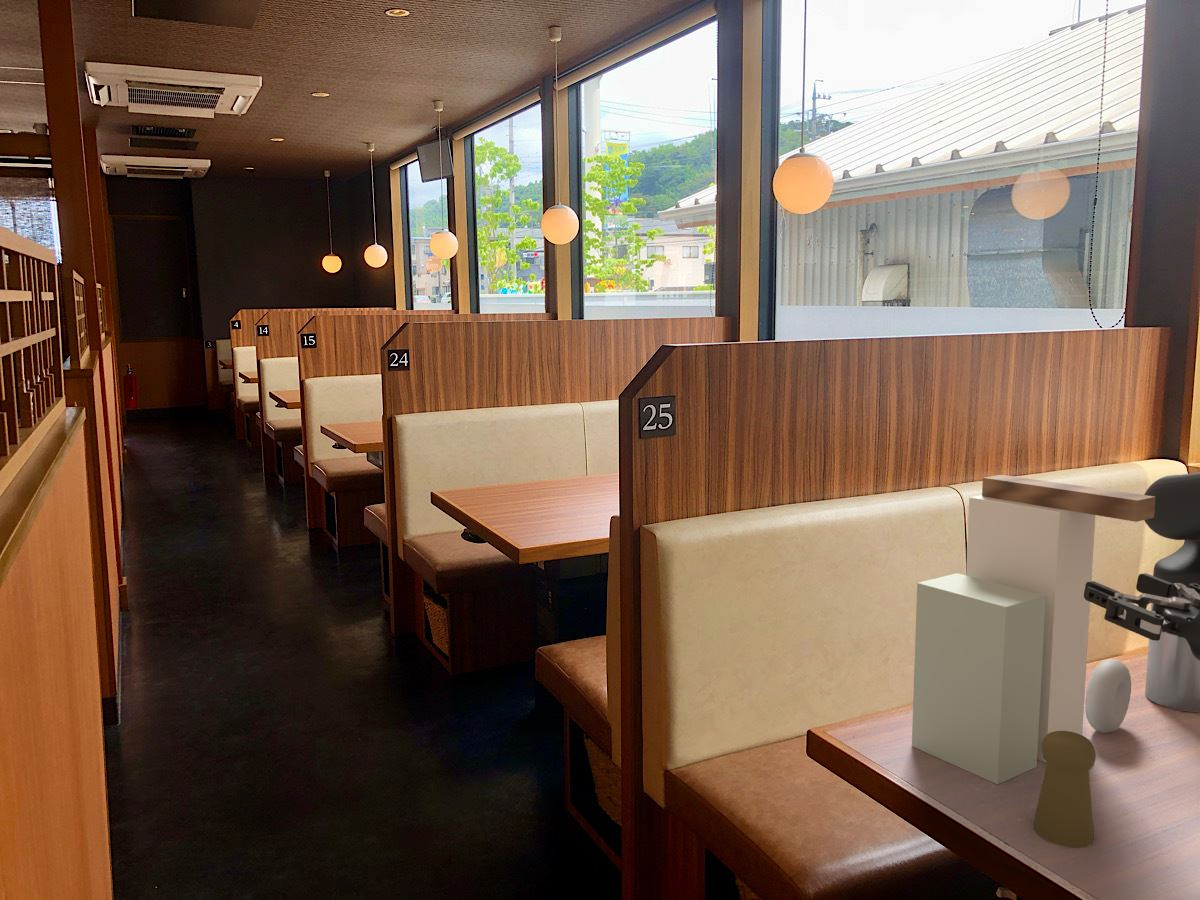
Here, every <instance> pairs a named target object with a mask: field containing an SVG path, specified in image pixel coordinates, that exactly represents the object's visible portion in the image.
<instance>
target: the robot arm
mask: <svg viewBox="0 0 1200 900" xmlns="http://www.w3.org/2000/svg"><path fill="white" fill-rule="evenodd" d="M1143 495H1148V496H1155V497H1156V498H1155V512H1154V518H1150V519H1146V520H1143V521H1144V522H1145V524H1146V525H1147V526H1148V528H1149V529H1150V530H1152V532H1153V533H1156V534H1157V535H1158V536H1160V537H1162V538H1165V539H1169V540H1175V541H1184V543H1183V544H1182V545H1181V546H1180V548H1178V549H1177V550H1176V551H1175V552H1172V553H1171V554H1169V555H1167V556H1165V557H1164V558H1160V559H1159V560H1158V561H1156V563H1155V565H1154V567H1153V572H1152V573H1153V574H1149V573H1147V572H1144V573H1139V574H1138V577H1137V580H1136V586H1135V589H1136V591H1137V592H1139V593H1141V594H1139V595H1138V596H1137V595H1132V594H1128V593H1123V592H1120V591H1118V590H1116V589H1114V588H1111V587H1109V586H1106V585H1104V584H1102V583H1099V582H1097V581H1095V580H1092V581H1090V582H1087V583H1086V585H1085V591H1084V598H1085V600H1087V601H1089V602H1090V603H1092V604H1094V605H1096V606H1099V607H1101V608H1103V609H1105V613H1104V615H1103V616H1104V617H1103V620H1105V621H1107V622H1110V623H1111V624H1114V625H1116V626H1118V627H1121V628H1123V629H1126V630H1128V631H1130V632H1132V633H1134V634H1137V635H1140V636H1142V637H1144V638H1145V639H1148V646H1147V647H1148V648H1147V660H1146V661H1147V662H1146V672H1145V673H1146V674H1145V675H1146V676H1145V688H1144V689H1145V690H1144V693H1145V696H1146V698H1147V699H1149V701H1152V702H1154V703H1155V704H1157V705H1160V706H1163V707H1166V708H1170V709H1173V710H1177V711H1183V712H1190V713H1200V471H1199V472H1193V473H1184V474H1171V475H1165V476H1162V477H1160V478H1158V479H1157V480H1155V481H1154V482H1153V483H1151V484H1150V485H1149V486H1148V487H1147V489H1146V490H1145V492H1144V494H1143ZM1149 604H1151V606H1150V610H1148V609H1147V607H1148V605H1149Z"/></svg>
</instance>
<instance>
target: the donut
mask: <svg viewBox="0 0 1200 900" xmlns="http://www.w3.org/2000/svg"><path fill="white" fill-rule="evenodd" d="M1088 681H1089V682H1088V685H1087V689H1086V692H1085V694H1086V696H1085V701H1084V710H1085V716H1086V720H1087V721H1088V724H1089V725H1090V727H1092V729H1094V730H1095V731H1097V732H1099V733H1101V734H1111V733H1113V732H1114V731H1116V730H1117V729H1119V728H1120V727H1121V725H1122V724H1123V722H1124V719H1125V718H1126V715H1127V712H1128V709H1129V707H1130V706H1129V705H1130V700H1131V694H1132V678H1131V673H1130V670H1129V668H1128V667H1127V666H1126V664H1124V662H1122V661H1120V660H1119V659H1117V658H1108V659H1104V660H1101V661H1100V662H1099V663H1098V664H1097V666H1096V667H1095V668H1094V669H1093V672H1092V674H1091V676H1090V678H1089V680H1088Z"/></svg>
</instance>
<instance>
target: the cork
mask: <svg viewBox="0 0 1200 900" xmlns="http://www.w3.org/2000/svg"><path fill="white" fill-rule="evenodd" d="M1096 754H1097V752H1096V749H1095V745H1094V744H1093V742H1092V740H1090V739H1089V738H1087V737H1086V736H1084V735H1083V734H1082V735H1080V734H1078V733H1074V732H1069V731H1054V732H1051V733H1048V734H1047V735H1046V737H1045V738H1044V739H1043V742H1042V755H1043V758H1044V759H1045V761H1046V762H1045V768H1044V772H1043V777H1042V782H1041V785H1040V786H1041V787H1040V790H1039V796H1038V801H1037V805H1036V810H1035V815H1034V820H1033V825H1032V826H1033V830H1034V831H1035V833H1036V835H1038V836H1039V837H1040V838H1042V839H1044V840H1046V841H1048V842H1050V843H1052V844H1055V845H1058V846H1062V847H1068V848H1086V847H1088V846H1091V845H1093V844H1094V842H1095V840H1096V837H1095V827H1094V825H1095V823H1094V814H1093V803H1092V794H1091V793H1092V791H1091V783H1090V782H1091V780H1090V770H1091V768H1092V767H1094V765H1095V763H1096V757H1097V755H1096Z"/></svg>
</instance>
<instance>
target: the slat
mask: <svg viewBox="0 0 1200 900" xmlns="http://www.w3.org/2000/svg"><path fill="white" fill-rule="evenodd" d="M981 495H982V496H984V497H990V498H996V499H1002V500H1008V501H1014V502H1020V503H1026V504H1032V505H1038V506H1044V507H1050V508H1056V509H1062V510H1068V511H1074V512H1080V513H1086V514H1092V515H1095V516H1099V517H1104V518H1111V519H1117V520H1122V521H1128V522H1135V523H1137V522H1142V521H1144V520H1146V519H1150V518H1154V512H1155V498H1156V497H1155V496H1148V495H1144V494H1139V493H1131V492H1124V491H1118V490H1111V489H1105V488H1104V489H1103V488H1097V487H1090V486H1082V485H1077V484H1076V485H1075V484H1070V483H1063V482H1057V481H1047V480H1040V479H1033V478H1026V477H1019V476H1013V475H1006V474H997V475H992V476H986V477H985V476H984V477H982V491H981Z"/></svg>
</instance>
